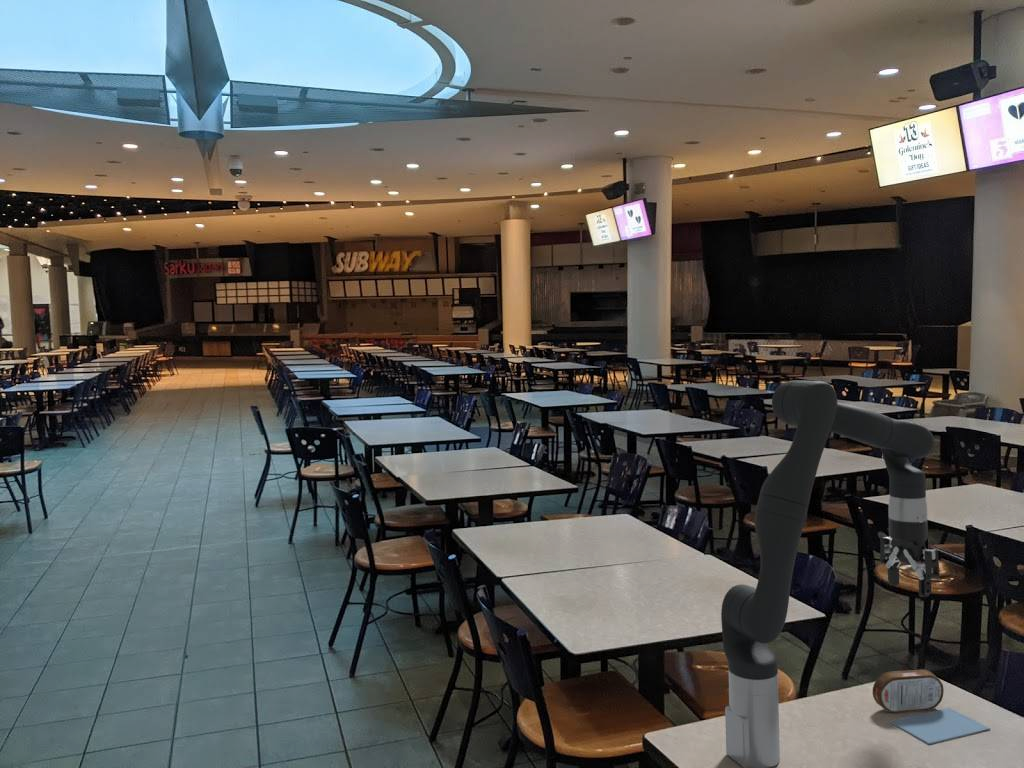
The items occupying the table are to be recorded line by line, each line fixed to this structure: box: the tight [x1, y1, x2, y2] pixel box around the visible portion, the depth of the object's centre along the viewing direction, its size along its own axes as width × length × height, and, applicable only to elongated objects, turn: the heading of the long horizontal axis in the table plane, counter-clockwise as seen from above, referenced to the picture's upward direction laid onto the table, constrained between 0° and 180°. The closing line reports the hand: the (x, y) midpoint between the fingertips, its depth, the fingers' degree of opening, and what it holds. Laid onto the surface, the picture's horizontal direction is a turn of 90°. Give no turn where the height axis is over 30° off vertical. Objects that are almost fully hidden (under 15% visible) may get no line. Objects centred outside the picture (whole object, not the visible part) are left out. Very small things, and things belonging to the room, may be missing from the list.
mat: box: [889, 707, 991, 746], centre depth 164 cm, size 16×10×1 cm, turn 108°
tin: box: [872, 669, 945, 714], centre depth 172 cm, size 15×3×8 cm, turn 95°
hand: (908, 590), depth 172 cm, fingers open, 8 cm apart
